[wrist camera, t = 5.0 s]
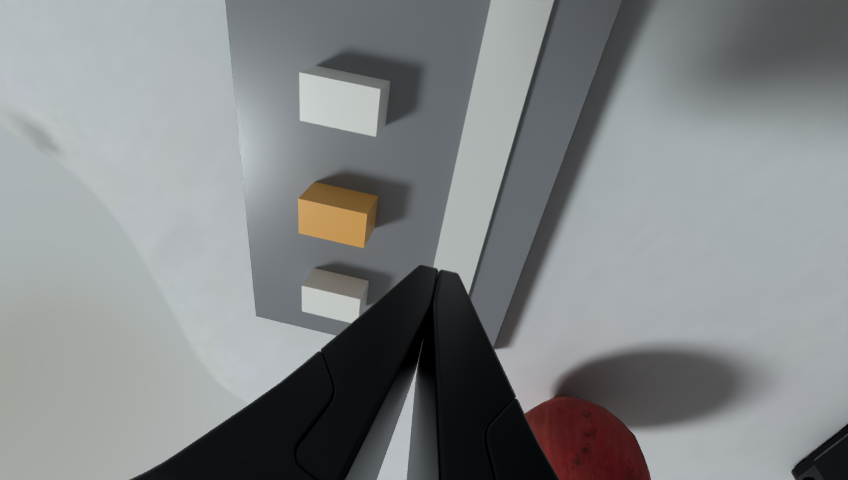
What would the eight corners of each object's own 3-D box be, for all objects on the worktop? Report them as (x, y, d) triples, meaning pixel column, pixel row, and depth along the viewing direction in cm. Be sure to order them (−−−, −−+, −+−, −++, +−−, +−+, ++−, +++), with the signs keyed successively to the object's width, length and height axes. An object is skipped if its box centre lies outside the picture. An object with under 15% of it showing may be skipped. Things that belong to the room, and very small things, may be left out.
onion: (568, 340, 18) (606, 544, 12) (651, 403, 19) (730, 621, 13) (481, 394, 21) (471, 582, 14) (558, 446, 22) (582, 642, 16)
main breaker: (378, 195, 15) (366, 214, 13) (374, 228, 15) (363, 248, 14) (314, 181, 15) (298, 198, 13) (314, 214, 15) (298, 233, 14)
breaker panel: (666, -154, 10) (709, -192, 8) (485, 351, 19) (483, 393, 17) (230, -227, 10) (164, -280, 8) (268, 299, 20) (242, 334, 18)
